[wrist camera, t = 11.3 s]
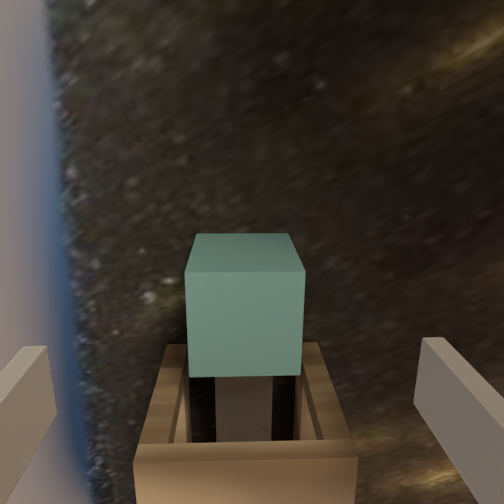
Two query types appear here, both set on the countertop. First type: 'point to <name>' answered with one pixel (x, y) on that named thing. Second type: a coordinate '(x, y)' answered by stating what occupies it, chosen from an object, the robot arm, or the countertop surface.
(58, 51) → the countertop surface
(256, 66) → the countertop surface
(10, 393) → the robot arm
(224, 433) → the hammer
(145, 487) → the tunnel
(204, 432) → the countertop surface
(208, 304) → the block
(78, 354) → the countertop surface
